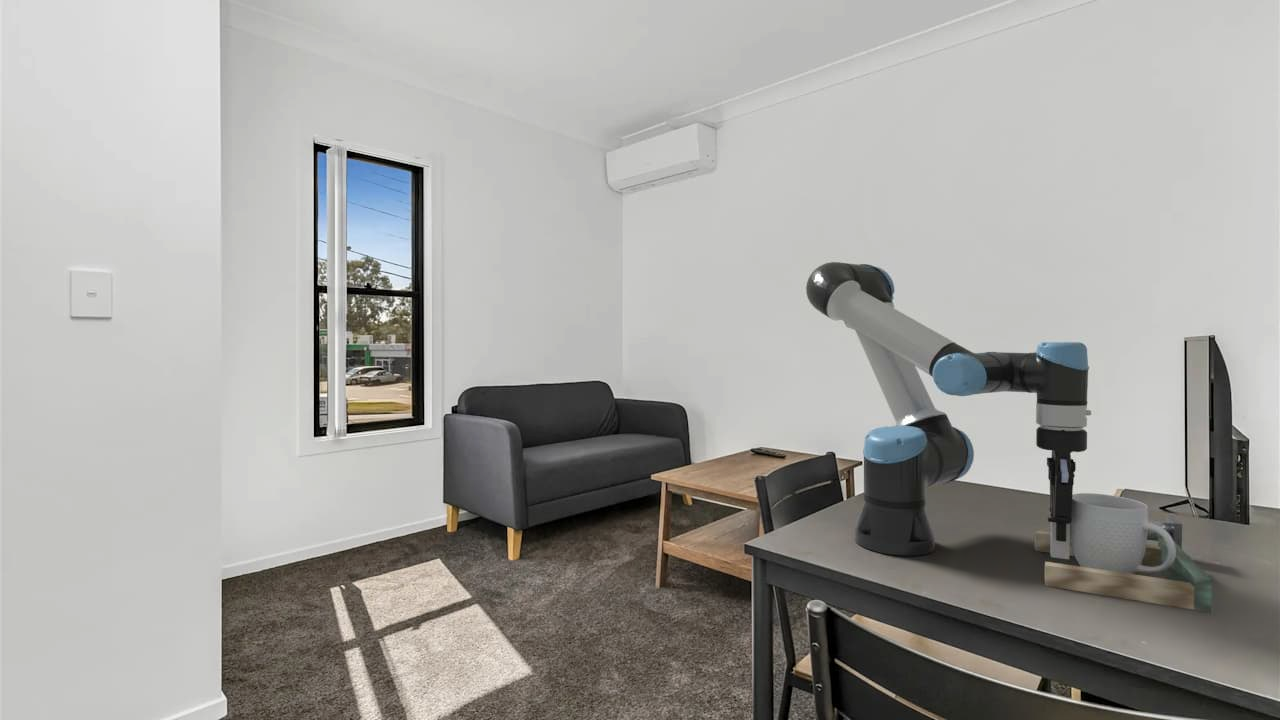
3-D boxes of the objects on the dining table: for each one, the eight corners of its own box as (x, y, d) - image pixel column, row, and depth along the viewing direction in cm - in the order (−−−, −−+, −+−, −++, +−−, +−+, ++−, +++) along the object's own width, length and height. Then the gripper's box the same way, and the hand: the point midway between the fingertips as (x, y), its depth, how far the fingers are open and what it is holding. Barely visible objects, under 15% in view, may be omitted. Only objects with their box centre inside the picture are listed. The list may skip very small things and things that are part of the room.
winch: (1128, 558, 115) (1129, 519, 114) (1121, 548, 120) (1122, 510, 120) (1183, 565, 111) (1184, 525, 111) (1174, 555, 116) (1175, 516, 116)
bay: (1045, 585, 102) (1046, 556, 102) (1034, 547, 121) (1035, 522, 120) (1210, 612, 92) (1211, 580, 92) (1171, 566, 111) (1172, 539, 110)
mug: (1184, 583, 103) (1186, 507, 102) (1163, 600, 96) (1165, 519, 96) (1081, 557, 115) (1083, 489, 114) (1057, 570, 109) (1058, 498, 108)
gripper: (1092, 433, 102) (1091, 572, 102) (1081, 424, 113) (1080, 549, 114) (1039, 430, 105) (1038, 565, 106) (1033, 422, 117) (1032, 543, 117)
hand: (1059, 556), depth 110 cm, fingers closed
